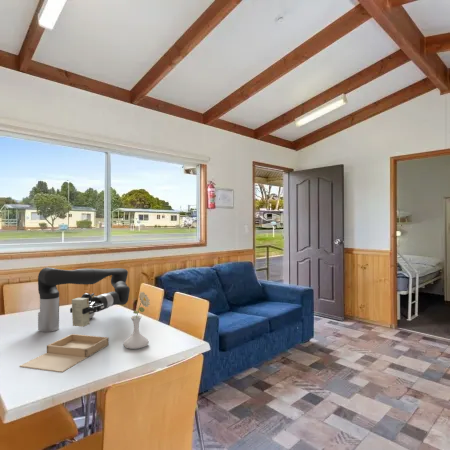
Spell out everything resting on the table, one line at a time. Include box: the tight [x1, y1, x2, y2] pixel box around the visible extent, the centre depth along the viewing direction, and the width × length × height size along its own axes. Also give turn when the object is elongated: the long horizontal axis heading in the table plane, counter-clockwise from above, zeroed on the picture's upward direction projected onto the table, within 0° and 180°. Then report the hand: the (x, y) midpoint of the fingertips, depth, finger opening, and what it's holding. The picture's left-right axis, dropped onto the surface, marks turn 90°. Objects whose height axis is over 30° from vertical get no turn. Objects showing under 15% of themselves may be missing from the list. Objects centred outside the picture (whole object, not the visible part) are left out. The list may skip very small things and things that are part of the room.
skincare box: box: [71, 297, 91, 328], centre depth 151 cm, size 6×4×12 cm
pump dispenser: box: [80, 292, 96, 319], centre depth 199 cm, size 10×10×15 cm
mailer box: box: [19, 333, 110, 373], centre depth 143 cm, size 20×30×4 cm, turn 166°
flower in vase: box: [122, 291, 151, 350], centre depth 153 cm, size 13×11×25 cm
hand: (76, 311), depth 148 cm, fingers closed on skincare box, 6 cm apart
